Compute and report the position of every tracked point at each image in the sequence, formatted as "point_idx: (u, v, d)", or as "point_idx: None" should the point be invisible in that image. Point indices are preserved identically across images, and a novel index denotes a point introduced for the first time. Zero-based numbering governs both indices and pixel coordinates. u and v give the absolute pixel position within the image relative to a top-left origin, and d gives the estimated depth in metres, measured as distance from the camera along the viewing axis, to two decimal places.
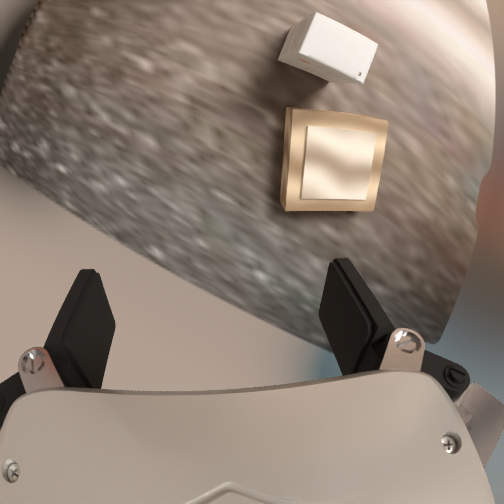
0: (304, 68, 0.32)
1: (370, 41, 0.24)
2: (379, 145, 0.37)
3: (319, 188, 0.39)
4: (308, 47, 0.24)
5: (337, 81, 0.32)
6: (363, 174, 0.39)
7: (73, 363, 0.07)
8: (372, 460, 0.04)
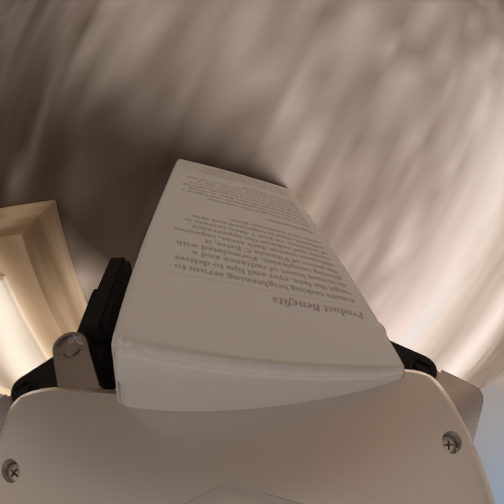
0: None
1: None
2: None
3: None
4: (177, 388, 0.04)
5: None
6: (2, 380, 0.14)
7: (109, 347, 0.08)
8: (372, 460, 0.04)
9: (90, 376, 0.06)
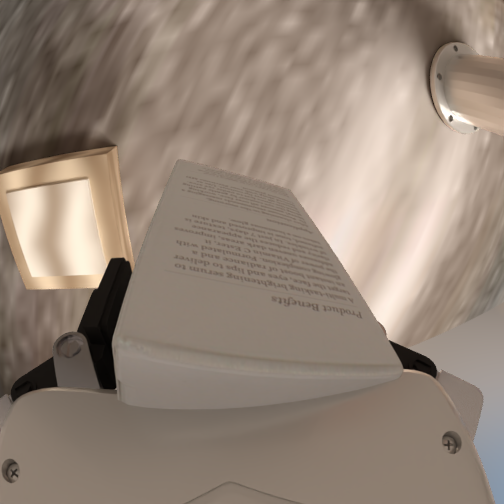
0: None
1: None
2: (96, 280, 0.28)
3: (21, 213, 0.23)
4: (177, 387, 0.04)
5: None
6: (55, 267, 0.26)
7: (109, 347, 0.08)
8: (372, 460, 0.04)
9: (90, 376, 0.06)
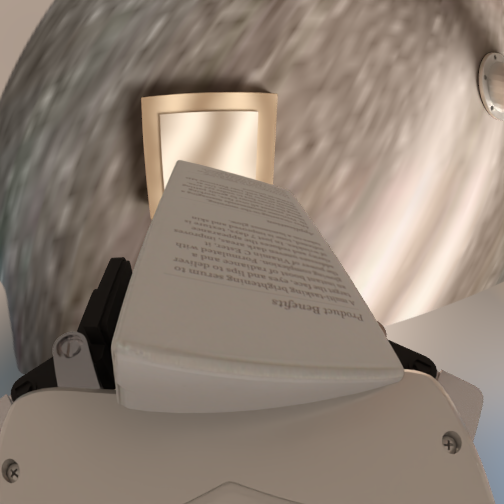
0: None
1: None
2: None
3: (175, 136, 0.28)
4: (177, 391, 0.04)
5: None
6: None
7: (109, 347, 0.08)
8: (372, 460, 0.04)
9: (90, 376, 0.06)
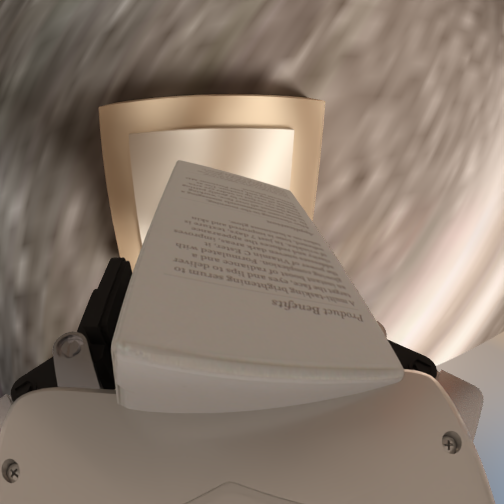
0: None
1: None
2: None
3: (155, 170, 0.17)
4: (177, 391, 0.04)
5: None
6: None
7: (109, 347, 0.08)
8: (372, 460, 0.04)
9: (90, 376, 0.06)
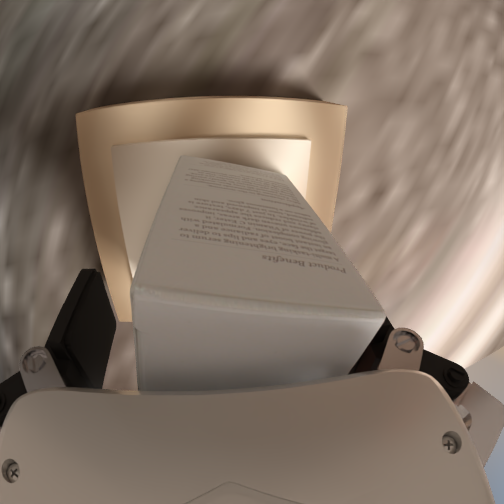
0: None
1: None
2: None
3: (143, 189, 0.14)
4: (184, 328, 0.05)
5: None
6: None
7: (74, 362, 0.07)
8: (372, 460, 0.04)
9: None
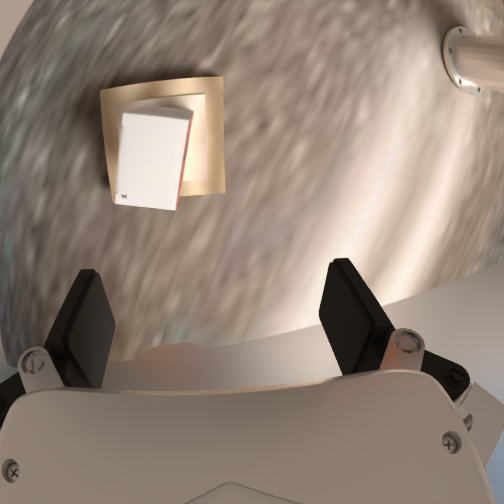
0: None
1: (174, 199, 0.24)
2: (193, 187, 0.34)
3: None
4: (133, 122, 0.20)
5: None
6: None
7: (73, 363, 0.07)
8: (372, 460, 0.04)
9: None
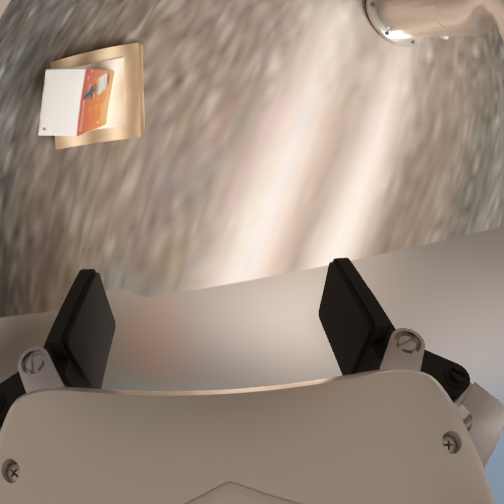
0: None
1: (75, 128, 0.26)
2: (115, 133, 0.36)
3: None
4: (51, 75, 0.22)
5: None
6: None
7: (73, 363, 0.07)
8: (372, 460, 0.04)
9: None
